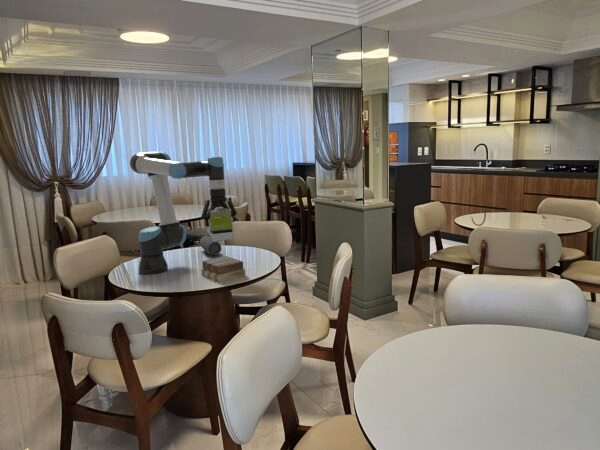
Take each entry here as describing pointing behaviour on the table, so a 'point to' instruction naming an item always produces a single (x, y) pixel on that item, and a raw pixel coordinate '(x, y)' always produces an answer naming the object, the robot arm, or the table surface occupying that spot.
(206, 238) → the bluetooth speaker
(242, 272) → the oak slab
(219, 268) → the walnut slab
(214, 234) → the tea box
